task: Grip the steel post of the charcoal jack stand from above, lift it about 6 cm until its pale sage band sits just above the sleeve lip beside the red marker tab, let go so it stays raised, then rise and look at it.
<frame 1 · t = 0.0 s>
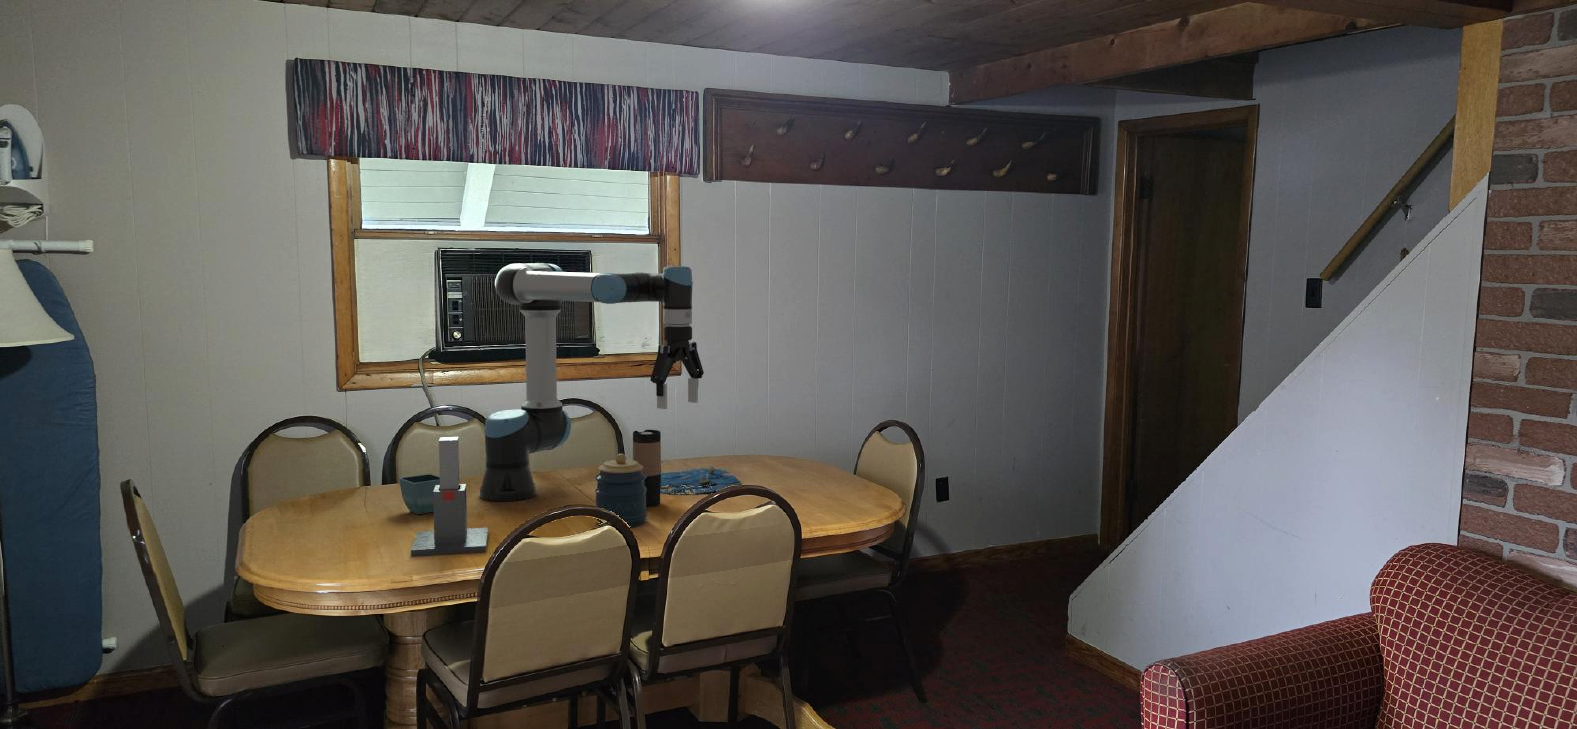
hand: (677, 405, 269), 28 cm above the table, tool pointing down, fingers open, 13 cm apart
ocean terrain model: (693, 486, 302), on the table
jack stand base: (451, 544, 237), on the table
flower pot: (423, 512, 266), on the table
travel mug: (646, 505, 277), on the table
stand post: (449, 487, 235), point 14 cm above the table, slide at 0.0 cm
canister: (621, 522, 258), on the table
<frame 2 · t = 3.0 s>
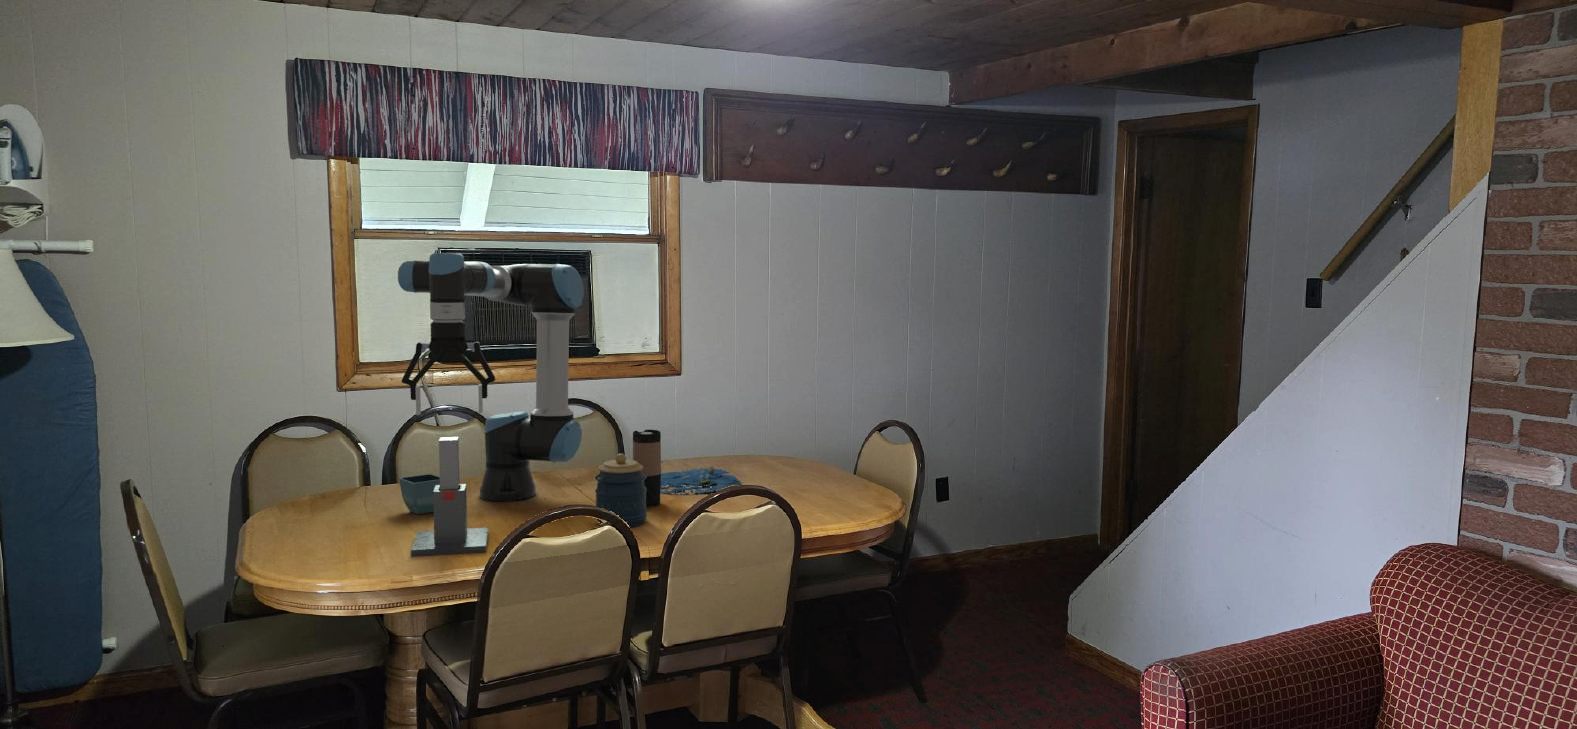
hand: (449, 413, 234), 31 cm above the table, tool pointing down, fingers open, 13 cm apart
nothing on the table moved.
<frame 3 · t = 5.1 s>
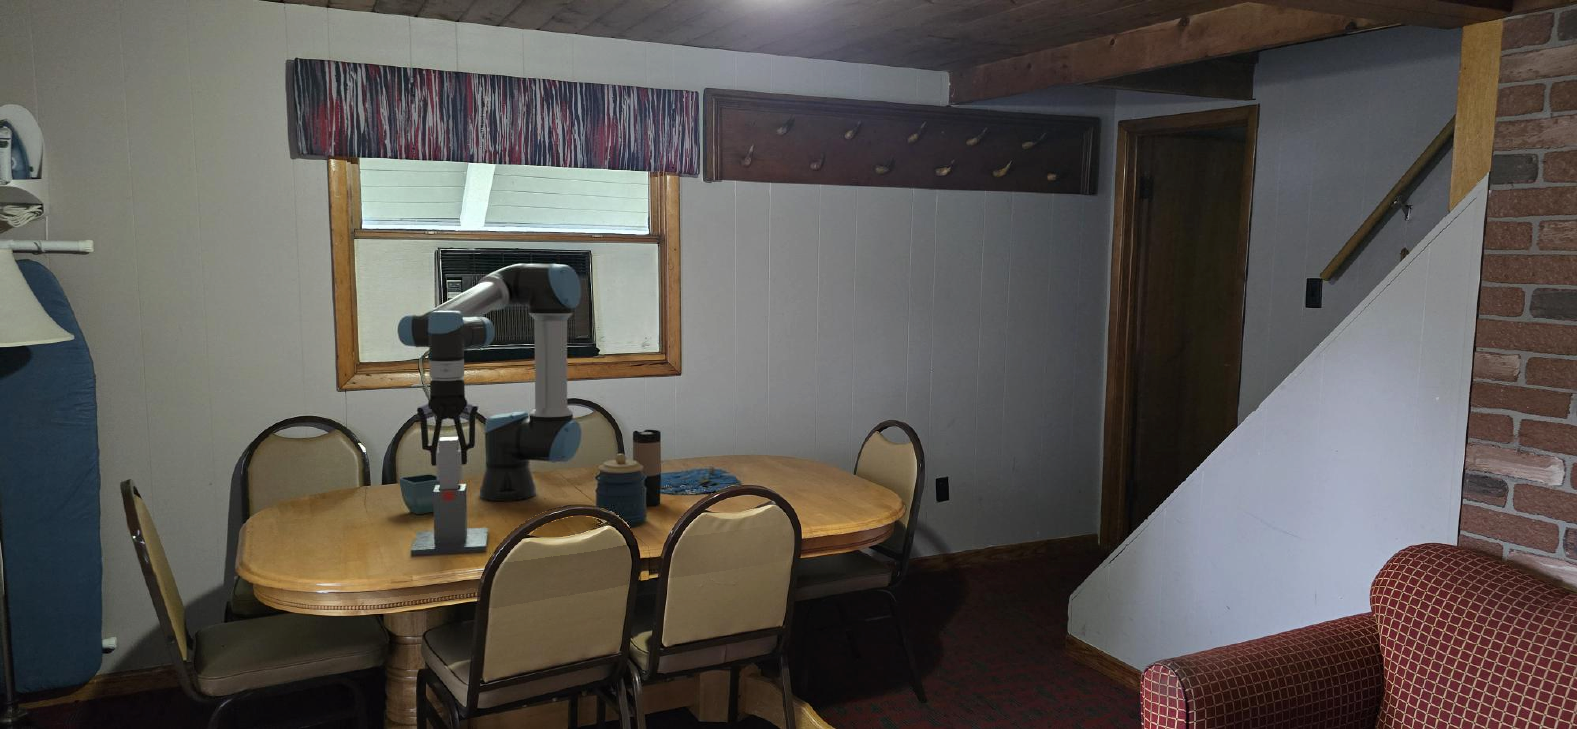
hand: (449, 478, 235), 16 cm above the table, tool pointing down, fingers closed on stand post, 4 cm apart
stand post: (449, 487, 235), point 13 cm above the table, slide at 0.0 cm, touching gripper
everything else where it was.
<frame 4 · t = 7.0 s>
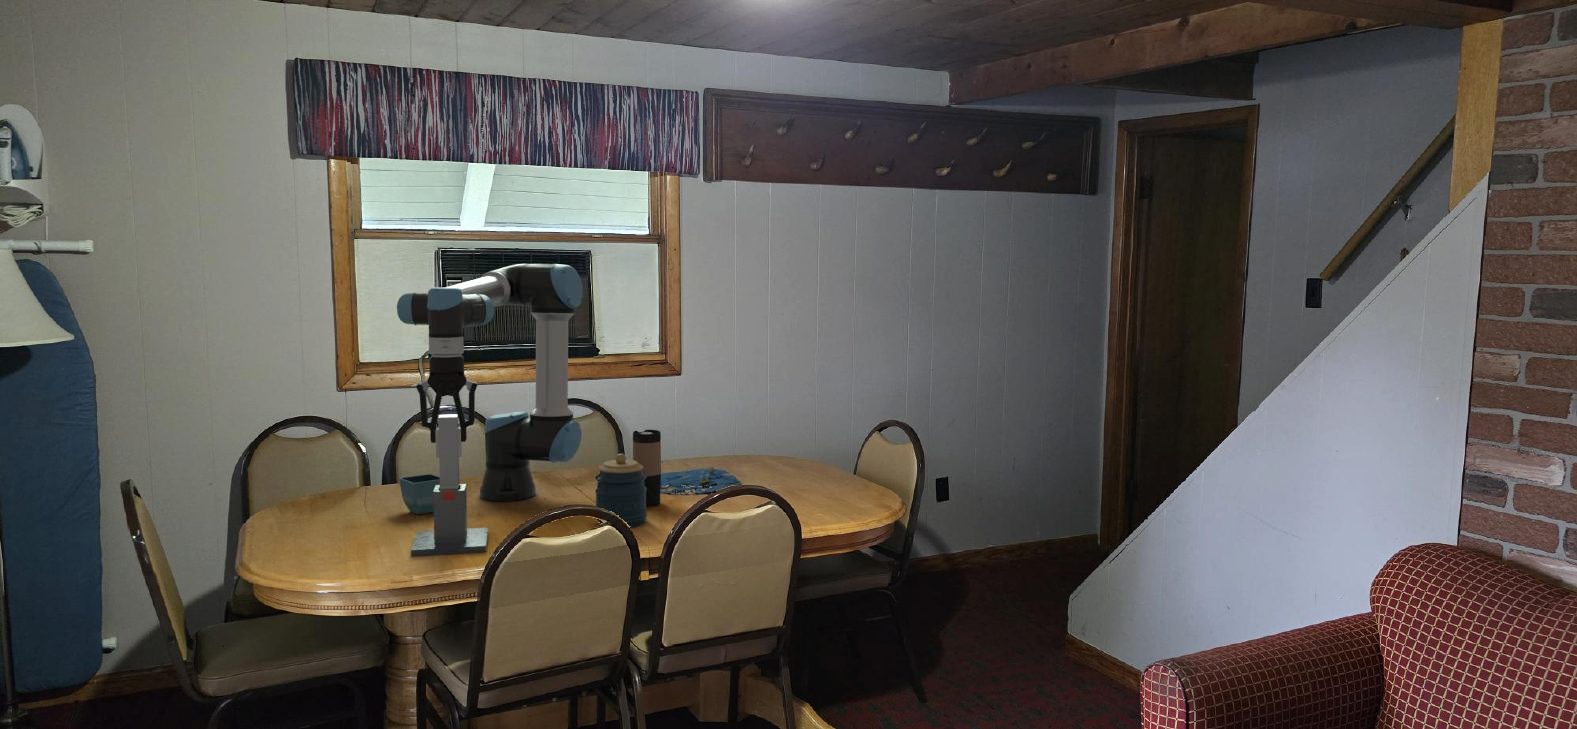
hand: (449, 456, 235), 21 cm above the table, tool pointing down, fingers closed on stand post, 4 cm apart
stand post: (449, 465, 235), point 19 cm above the table, slide at 5.3 cm, touching gripper
everything else where it was.
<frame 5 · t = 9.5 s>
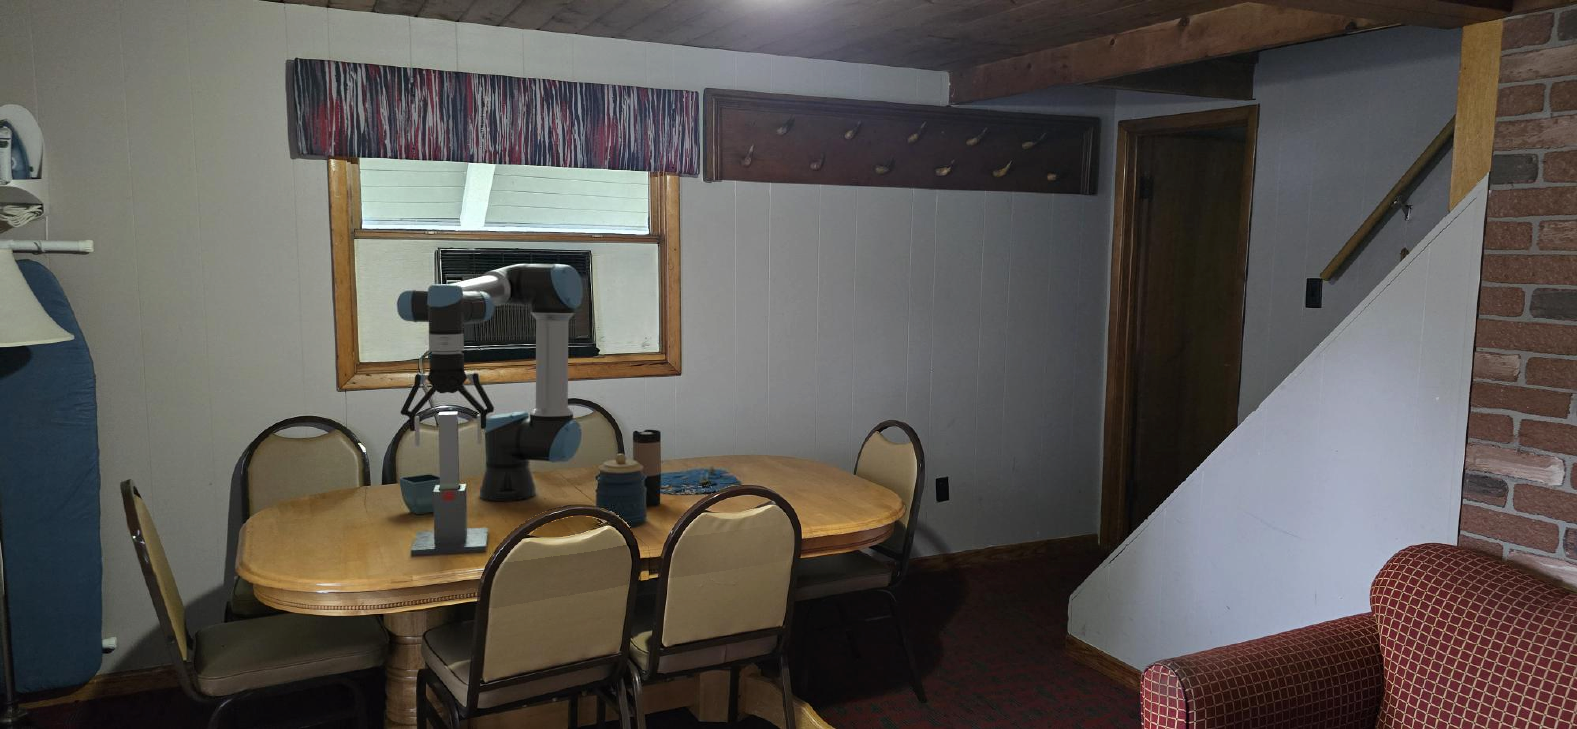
hand: (448, 444, 234), 24 cm above the table, tool pointing down, fingers open, 13 cm apart
stand post: (449, 462, 235), point 19 cm above the table, slide at 6.0 cm
everything else where it was.
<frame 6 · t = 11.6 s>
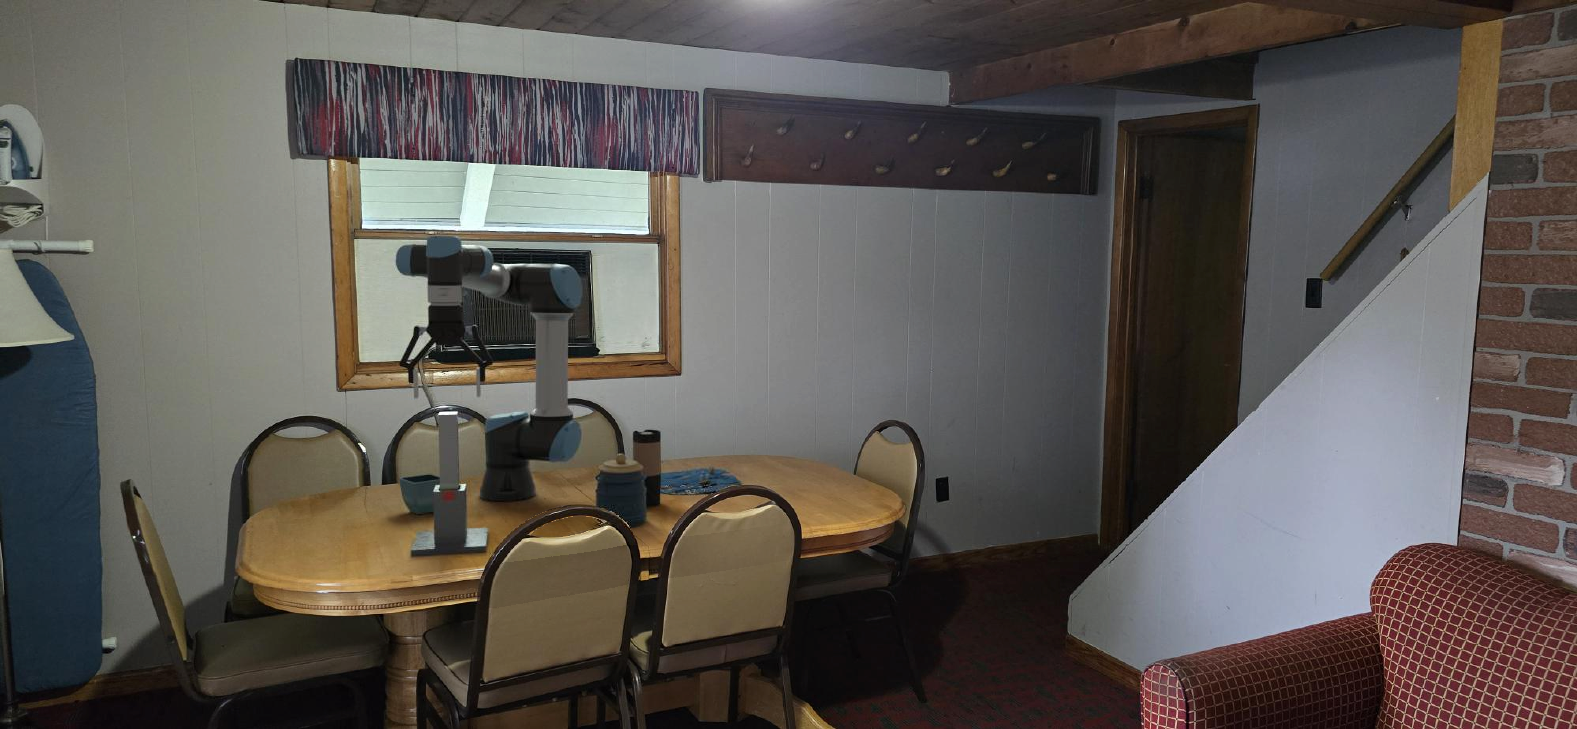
hand: (447, 397, 233), 35 cm above the table, tool pointing down, fingers open, 13 cm apart
nothing on the table moved.
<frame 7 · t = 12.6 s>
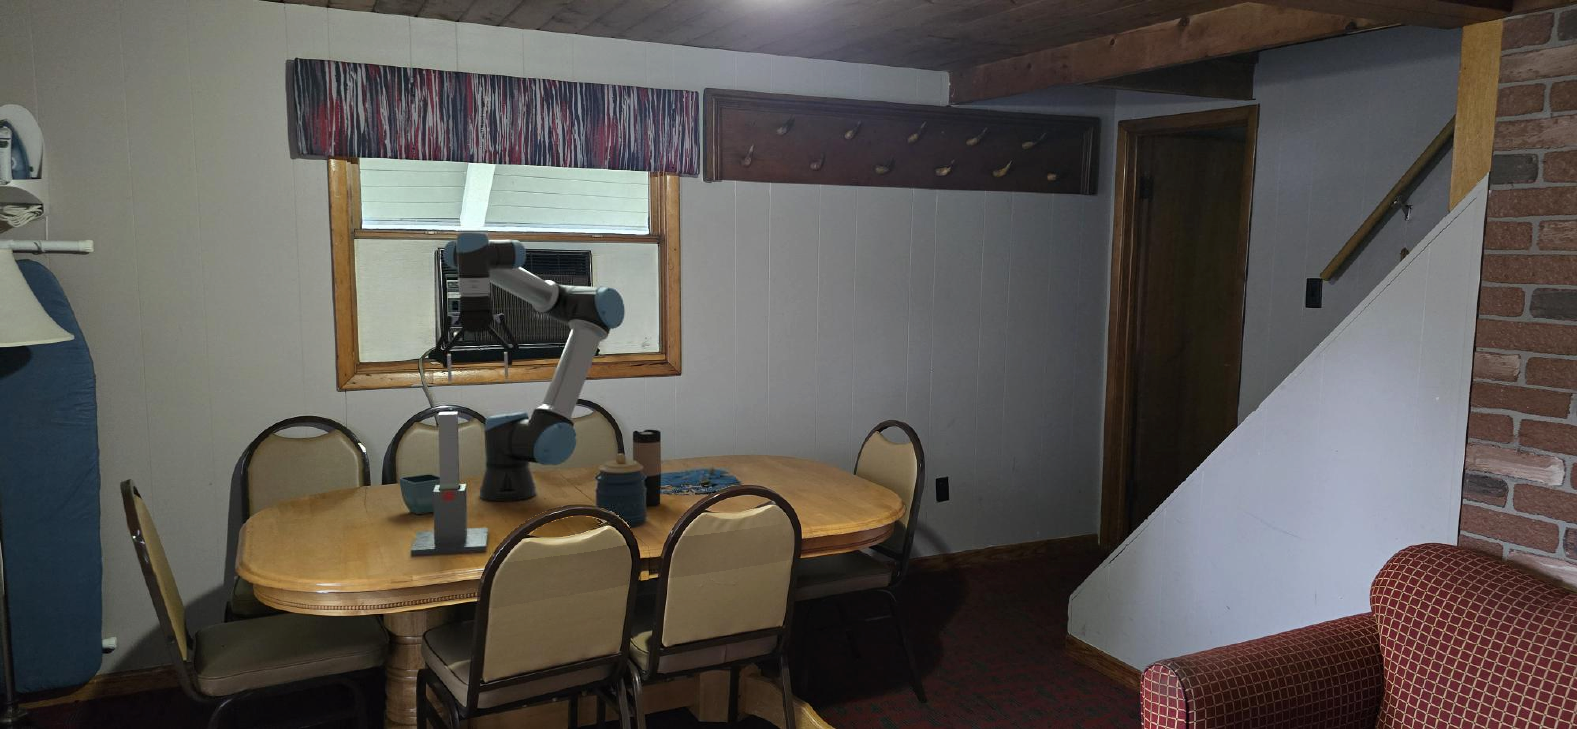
hand: (478, 379, 255), 36 cm above the table, tool pointing down, fingers open, 13 cm apart
nothing on the table moved.
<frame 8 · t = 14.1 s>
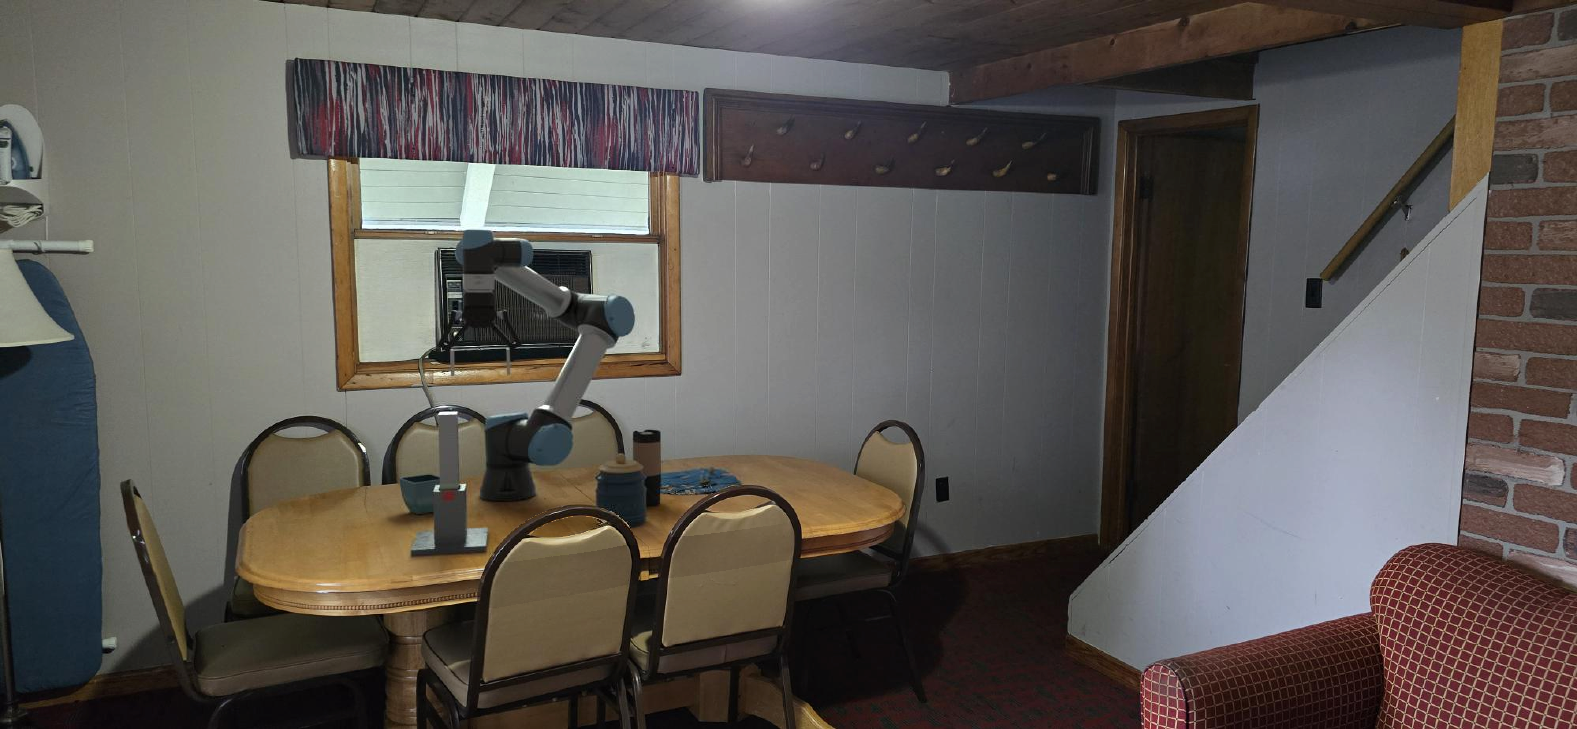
hand: (480, 375, 258), 37 cm above the table, tool pointing down, fingers open, 13 cm apart
nothing on the table moved.
at the end: stand post slide at 6.0 cm; the gripper is holding nothing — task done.
